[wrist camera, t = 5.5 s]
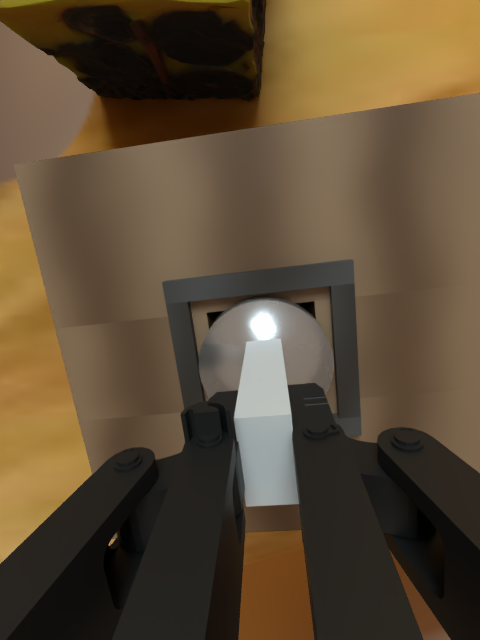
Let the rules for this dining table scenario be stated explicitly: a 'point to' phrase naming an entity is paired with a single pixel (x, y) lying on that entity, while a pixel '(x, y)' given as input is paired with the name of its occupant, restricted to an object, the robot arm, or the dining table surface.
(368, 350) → the socket block
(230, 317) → the grey piece
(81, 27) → the candle
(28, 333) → the dining table surface
